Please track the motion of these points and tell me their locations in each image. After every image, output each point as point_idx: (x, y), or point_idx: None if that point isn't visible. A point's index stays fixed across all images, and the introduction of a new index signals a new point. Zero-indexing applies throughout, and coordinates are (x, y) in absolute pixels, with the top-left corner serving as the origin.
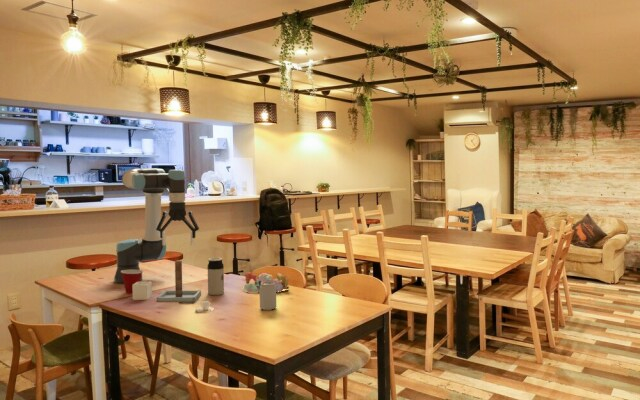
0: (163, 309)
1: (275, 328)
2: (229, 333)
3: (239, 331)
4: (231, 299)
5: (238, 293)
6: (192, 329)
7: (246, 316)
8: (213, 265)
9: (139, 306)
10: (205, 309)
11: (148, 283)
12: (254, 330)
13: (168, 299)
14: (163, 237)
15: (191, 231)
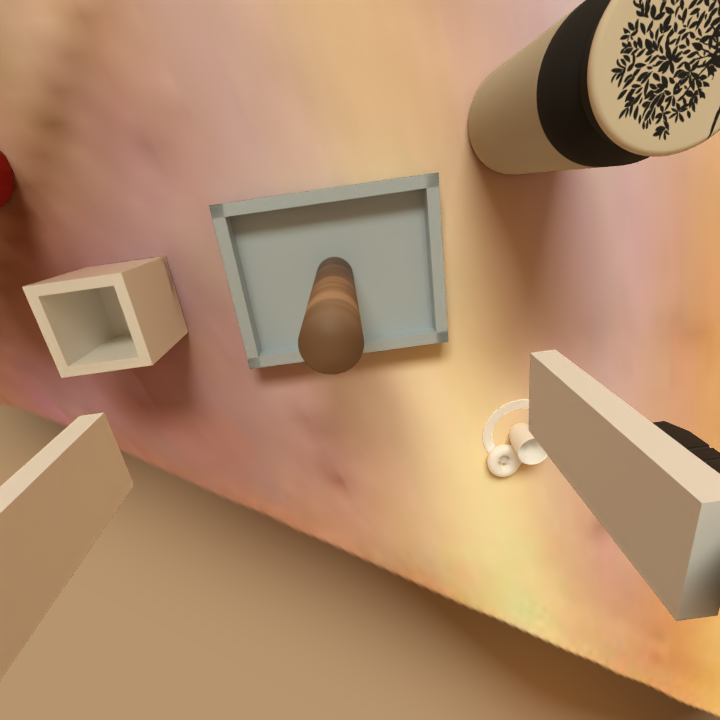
0: (339, 446)
1: None
2: (638, 627)
3: (667, 612)
4: (622, 253)
5: None
6: (524, 614)
7: None
8: (624, 159)
9: (206, 418)
10: (525, 443)
11: (138, 330)
12: None
13: None
14: (55, 592)
15: (695, 533)
